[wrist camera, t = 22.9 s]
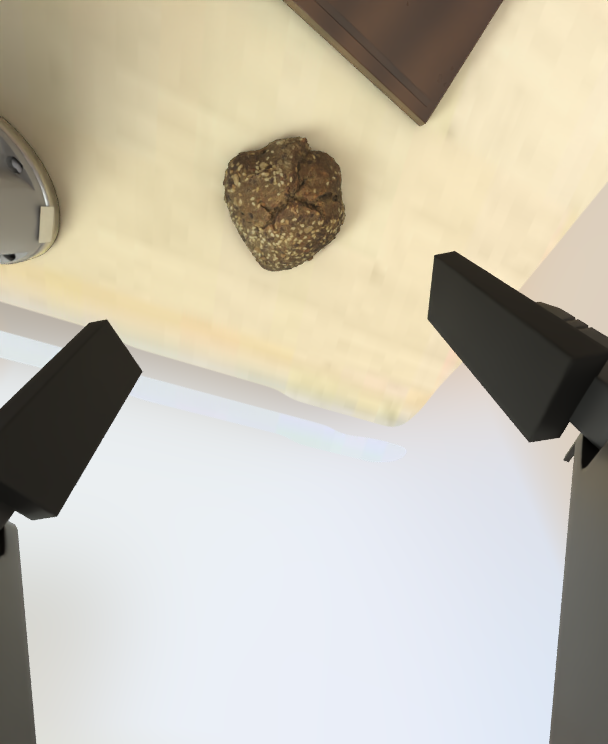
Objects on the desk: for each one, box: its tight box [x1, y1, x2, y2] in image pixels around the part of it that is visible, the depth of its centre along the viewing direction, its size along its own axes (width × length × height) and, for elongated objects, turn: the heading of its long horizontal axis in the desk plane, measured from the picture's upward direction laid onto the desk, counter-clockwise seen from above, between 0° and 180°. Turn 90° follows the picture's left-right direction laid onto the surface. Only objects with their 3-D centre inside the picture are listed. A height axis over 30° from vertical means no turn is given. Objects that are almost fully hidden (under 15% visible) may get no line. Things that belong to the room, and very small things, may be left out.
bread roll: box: [223, 137, 345, 271], centre depth 31 cm, size 13×12×5 cm
